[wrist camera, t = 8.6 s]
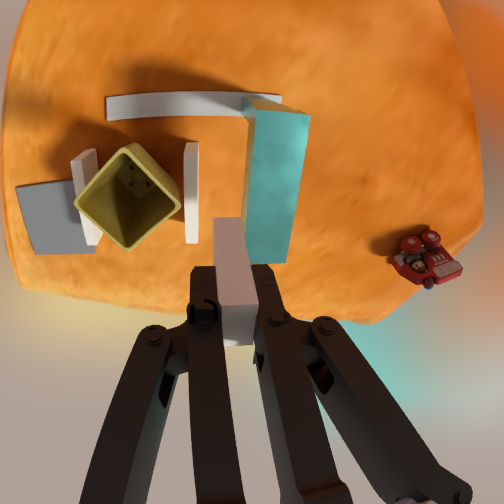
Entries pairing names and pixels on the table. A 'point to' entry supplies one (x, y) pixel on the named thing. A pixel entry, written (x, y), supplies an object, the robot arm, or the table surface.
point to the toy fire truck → (425, 260)
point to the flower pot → (129, 197)
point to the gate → (271, 176)
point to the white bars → (183, 106)
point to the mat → (53, 218)
